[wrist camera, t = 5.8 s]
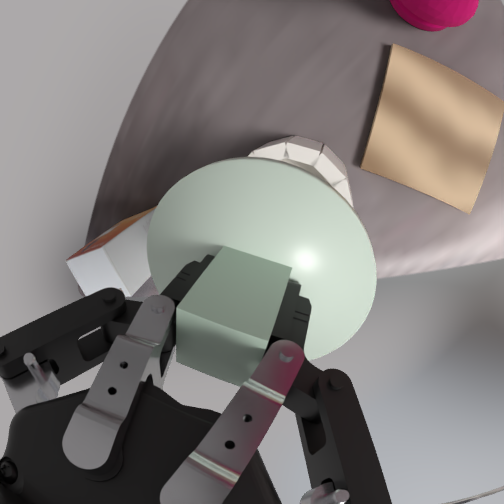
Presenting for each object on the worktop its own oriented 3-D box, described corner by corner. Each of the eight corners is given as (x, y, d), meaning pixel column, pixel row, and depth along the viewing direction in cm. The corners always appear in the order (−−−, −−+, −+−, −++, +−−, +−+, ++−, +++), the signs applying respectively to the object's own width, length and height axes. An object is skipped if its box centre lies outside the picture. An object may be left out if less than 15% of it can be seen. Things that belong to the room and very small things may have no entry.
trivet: (391, 45, 17) (393, 43, 16) (500, 102, 15) (505, 102, 15) (359, 166, 24) (360, 168, 23) (466, 210, 22) (469, 214, 21)
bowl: (256, 125, 24) (238, 130, 20) (363, 155, 23) (368, 167, 19) (237, 220, 30) (220, 242, 26) (331, 249, 28) (328, 276, 24)
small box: (163, 202, 31) (102, 245, 23) (183, 245, 34) (132, 297, 25) (119, 220, 35) (63, 260, 26) (138, 256, 37) (88, 302, 28)
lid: (160, 134, 12) (75, 161, 8) (414, 205, 10) (457, 274, 6) (156, 315, 18) (112, 371, 14) (324, 374, 16) (311, 448, 12)
